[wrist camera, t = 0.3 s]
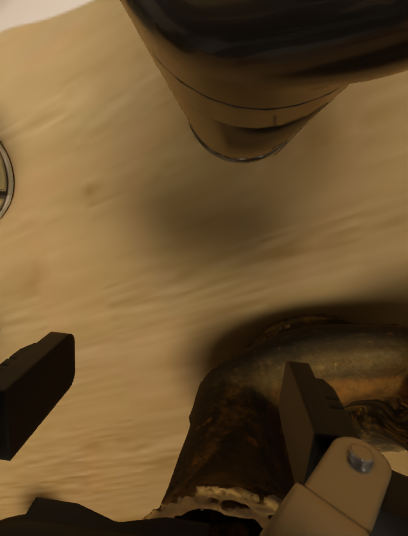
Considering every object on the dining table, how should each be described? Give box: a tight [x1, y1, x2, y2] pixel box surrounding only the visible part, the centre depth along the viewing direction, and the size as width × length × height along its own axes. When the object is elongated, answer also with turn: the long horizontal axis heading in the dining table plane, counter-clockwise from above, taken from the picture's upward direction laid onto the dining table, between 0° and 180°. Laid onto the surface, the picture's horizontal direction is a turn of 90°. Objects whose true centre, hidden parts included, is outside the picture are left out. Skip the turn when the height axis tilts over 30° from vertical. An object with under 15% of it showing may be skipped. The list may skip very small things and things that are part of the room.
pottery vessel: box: [143, 314, 408, 536], centre depth 21 cm, size 25×11×20 cm, turn 107°
